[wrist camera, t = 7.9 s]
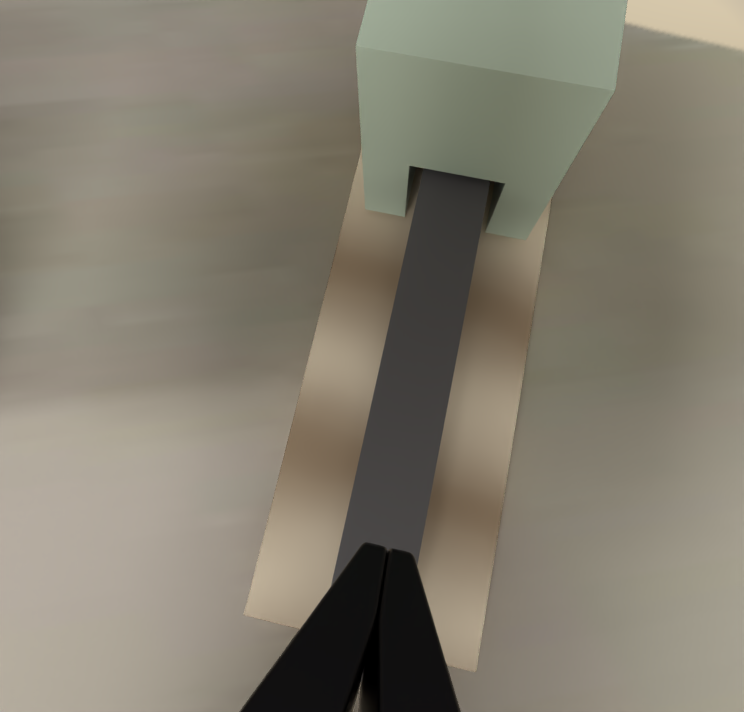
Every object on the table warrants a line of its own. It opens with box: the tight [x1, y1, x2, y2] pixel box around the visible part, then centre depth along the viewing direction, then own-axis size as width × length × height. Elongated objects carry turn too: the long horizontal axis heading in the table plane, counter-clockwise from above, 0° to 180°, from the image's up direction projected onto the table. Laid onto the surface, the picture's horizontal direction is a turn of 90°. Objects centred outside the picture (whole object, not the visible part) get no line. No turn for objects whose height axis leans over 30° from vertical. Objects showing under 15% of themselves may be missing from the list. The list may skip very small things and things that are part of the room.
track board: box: [244, 149, 552, 672], centre depth 19 cm, size 21×7×2 cm, turn 168°
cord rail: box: [331, 168, 490, 682], centre depth 17 cm, size 20×2×3 cm, turn 168°
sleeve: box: [356, 0, 628, 240], centre depth 16 cm, size 4×6×7 cm
